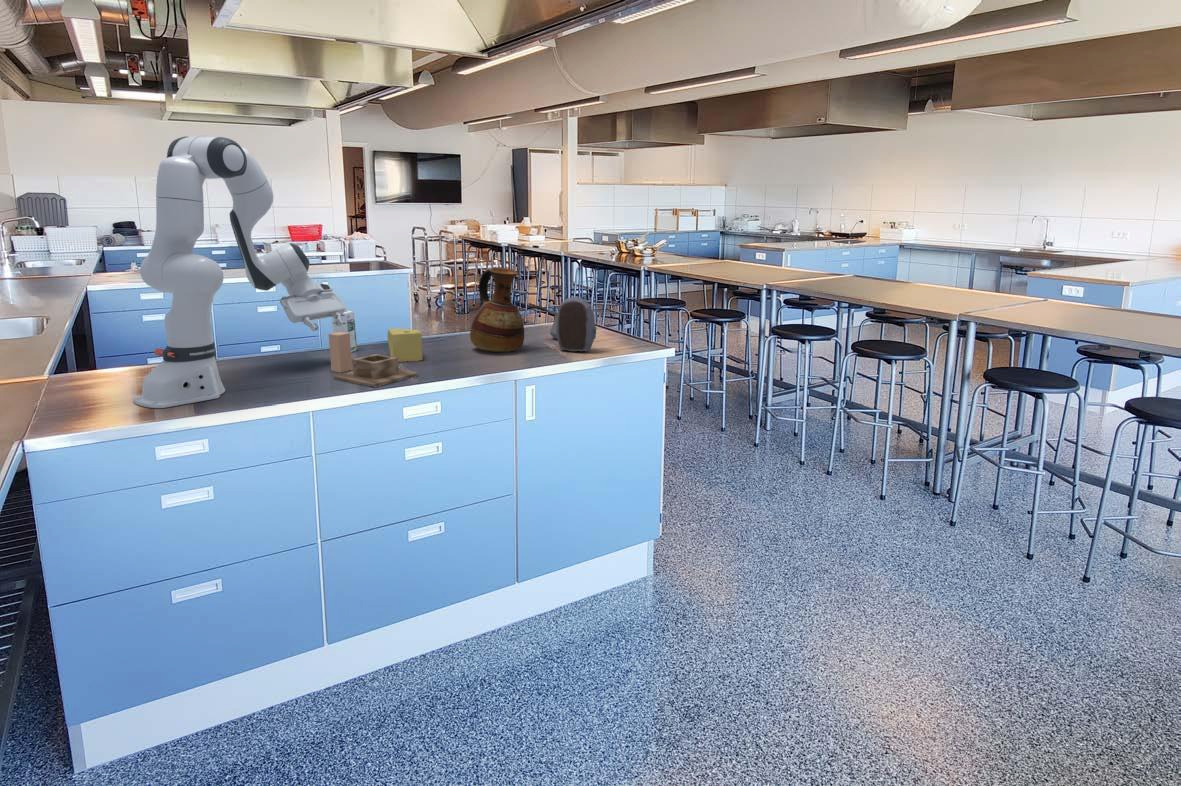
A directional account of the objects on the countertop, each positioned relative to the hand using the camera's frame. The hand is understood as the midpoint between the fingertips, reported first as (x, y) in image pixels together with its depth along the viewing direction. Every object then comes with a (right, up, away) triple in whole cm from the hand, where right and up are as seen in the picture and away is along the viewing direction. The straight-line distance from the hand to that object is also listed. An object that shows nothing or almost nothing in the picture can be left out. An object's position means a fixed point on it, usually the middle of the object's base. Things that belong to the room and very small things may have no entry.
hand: (328, 327), depth 236 cm
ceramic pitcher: (+50, -5, +35) cm, 61 cm away
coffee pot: (+69, 0, +55) cm, 88 cm away
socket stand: (+18, -16, -7) cm, 25 cm away
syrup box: (-4, -6, +28) cm, 29 cm away
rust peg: (+4, -14, +1) cm, 14 cm away
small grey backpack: (+79, -6, +36) cm, 87 cm away
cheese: (+20, -9, +18) cm, 29 cm away
